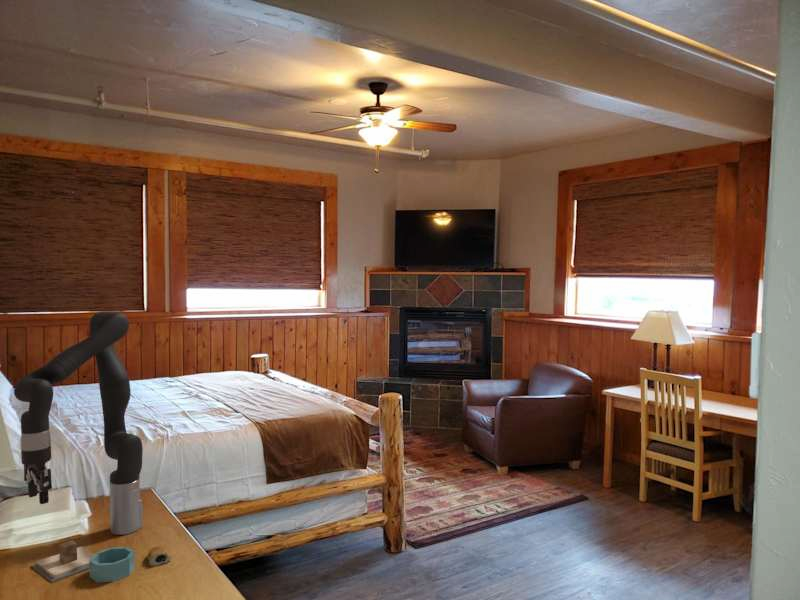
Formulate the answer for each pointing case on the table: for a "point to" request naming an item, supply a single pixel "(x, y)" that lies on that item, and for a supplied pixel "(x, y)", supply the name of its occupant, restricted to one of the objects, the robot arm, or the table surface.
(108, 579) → the bowl
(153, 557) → the pastry
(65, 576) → the mat
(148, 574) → the table surface
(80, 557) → the lid
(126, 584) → the table surface
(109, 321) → the robot arm
